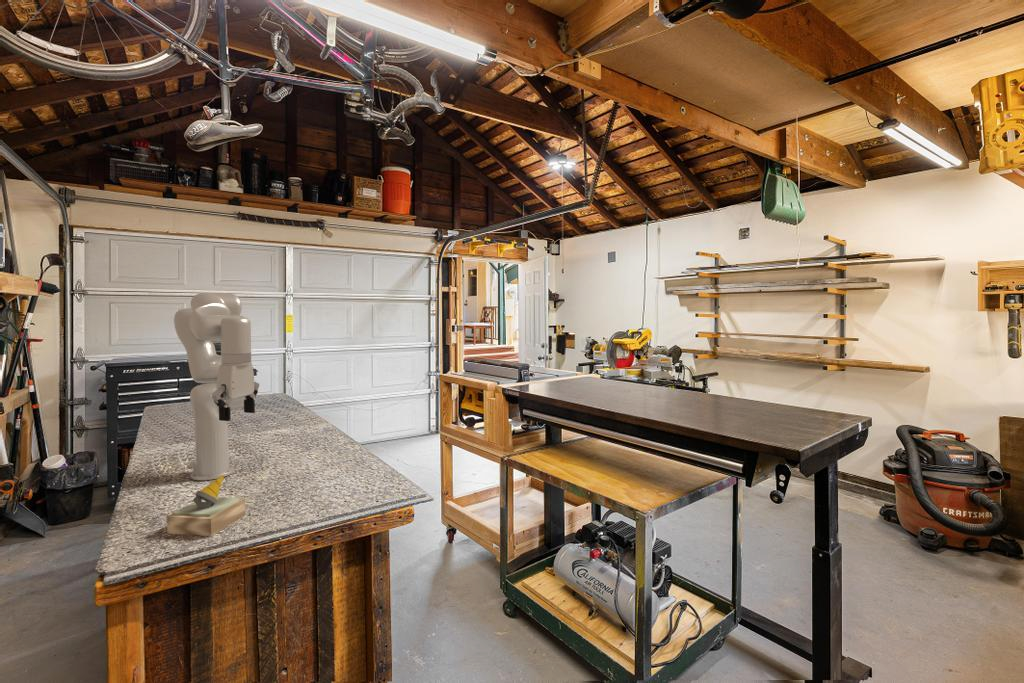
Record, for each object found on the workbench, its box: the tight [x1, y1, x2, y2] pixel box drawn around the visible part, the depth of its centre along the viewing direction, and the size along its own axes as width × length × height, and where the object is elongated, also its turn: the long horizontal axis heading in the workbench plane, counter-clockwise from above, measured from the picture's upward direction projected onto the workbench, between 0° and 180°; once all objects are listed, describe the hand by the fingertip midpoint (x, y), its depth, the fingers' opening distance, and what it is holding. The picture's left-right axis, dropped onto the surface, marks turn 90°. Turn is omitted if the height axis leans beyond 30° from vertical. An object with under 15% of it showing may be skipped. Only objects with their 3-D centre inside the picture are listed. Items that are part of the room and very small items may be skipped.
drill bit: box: [193, 474, 225, 509], centre depth 118 cm, size 5×5×10 cm
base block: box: [166, 496, 246, 537], centre depth 118 cm, size 12×12×5 cm
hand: (237, 416), depth 133 cm, fingers open, 9 cm apart
